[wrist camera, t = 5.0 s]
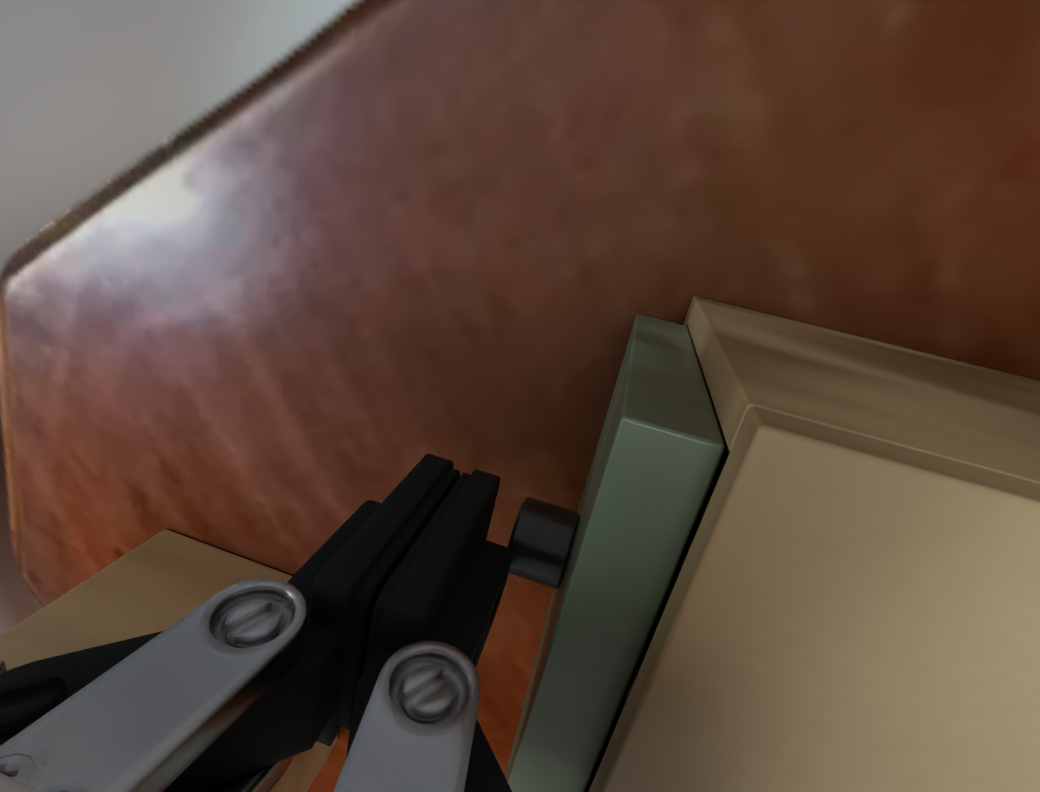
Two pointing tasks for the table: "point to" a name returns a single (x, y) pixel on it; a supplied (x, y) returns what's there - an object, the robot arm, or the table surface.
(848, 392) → the cabinet
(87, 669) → the robot arm
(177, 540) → the tan tall block
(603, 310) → the table surface
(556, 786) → the drawer
